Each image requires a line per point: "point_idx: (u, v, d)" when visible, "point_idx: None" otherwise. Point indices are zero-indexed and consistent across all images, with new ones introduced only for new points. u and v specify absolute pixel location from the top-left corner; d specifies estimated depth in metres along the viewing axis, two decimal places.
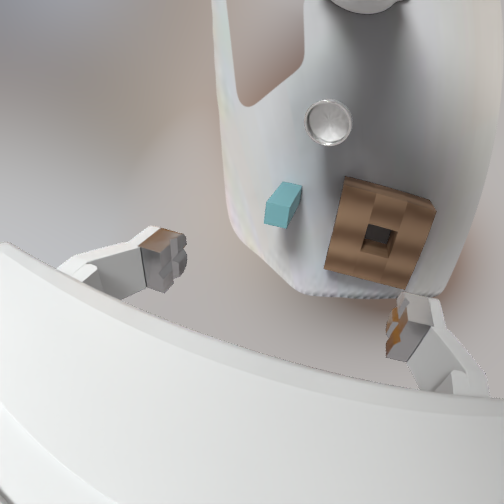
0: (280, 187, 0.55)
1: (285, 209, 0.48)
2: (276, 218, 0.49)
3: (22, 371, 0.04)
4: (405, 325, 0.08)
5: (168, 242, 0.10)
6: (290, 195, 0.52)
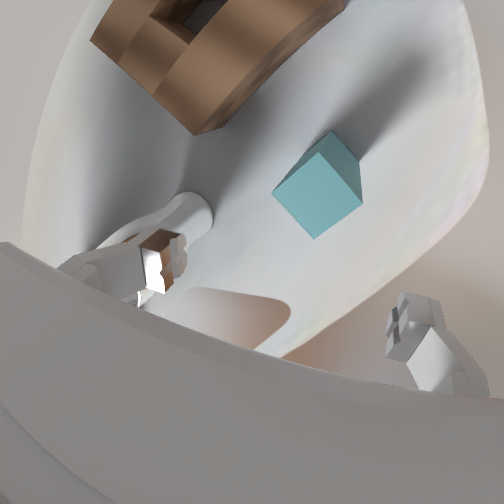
0: None
1: (283, 194, 0.18)
2: (321, 192, 0.17)
3: (23, 371, 0.04)
4: (405, 325, 0.08)
5: (168, 242, 0.10)
6: None
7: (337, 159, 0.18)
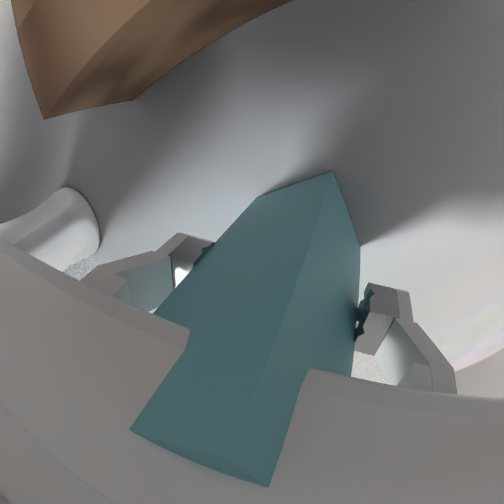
0: None
1: None
2: None
3: (23, 371, 0.04)
4: (367, 316, 0.08)
5: (200, 251, 0.10)
6: None
7: (318, 345, 0.06)
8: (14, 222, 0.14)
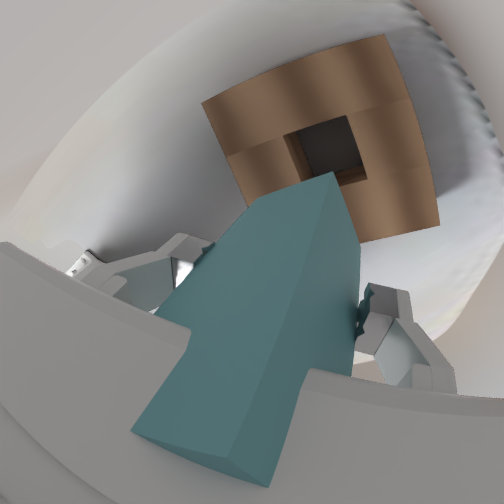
0: None
1: None
2: None
3: (23, 371, 0.04)
4: (368, 316, 0.08)
5: (200, 251, 0.10)
6: None
7: (318, 345, 0.06)
8: None
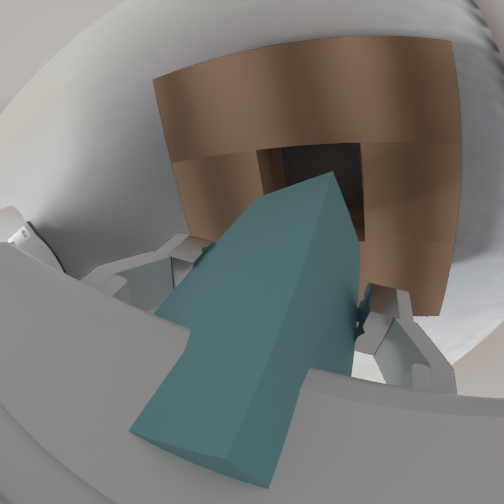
0: None
1: None
2: None
3: (23, 371, 0.04)
4: (368, 316, 0.08)
5: (200, 251, 0.10)
6: None
7: (318, 345, 0.06)
8: None
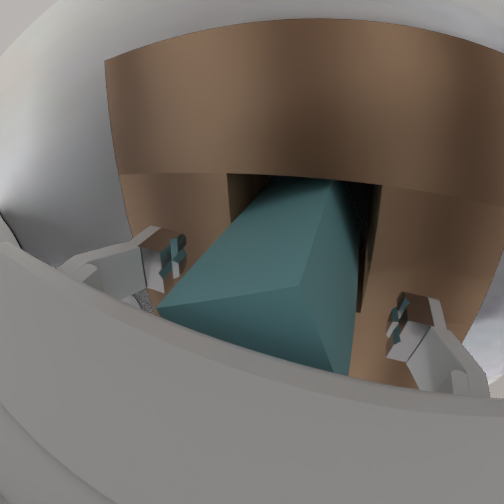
0: None
1: (181, 322, 0.07)
2: None
3: (23, 371, 0.04)
4: (405, 325, 0.08)
5: (168, 242, 0.10)
6: None
7: (335, 260, 0.08)
8: None
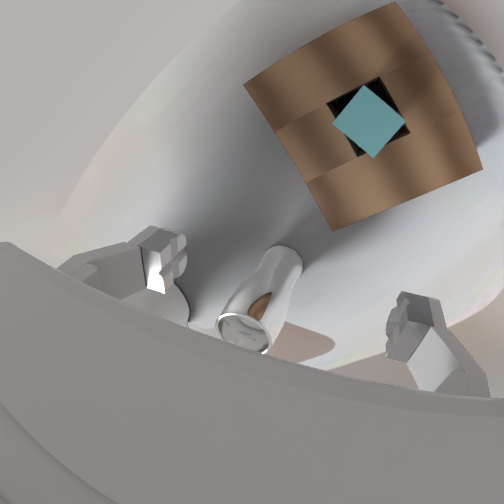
0: None
1: (342, 122, 0.19)
2: (371, 116, 0.18)
3: (23, 371, 0.04)
4: (405, 325, 0.08)
5: (168, 242, 0.10)
6: None
7: None
8: (272, 268, 0.36)
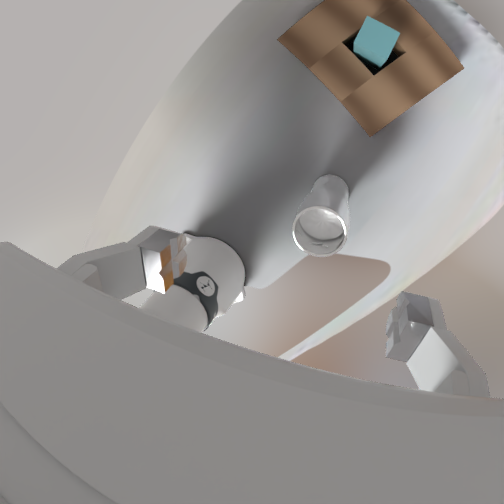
0: (377, 66, 0.30)
1: (360, 40, 0.23)
2: (378, 33, 0.22)
3: (22, 371, 0.04)
4: (405, 325, 0.08)
5: (168, 242, 0.10)
6: (360, 53, 0.28)
7: None
8: (327, 185, 0.39)
